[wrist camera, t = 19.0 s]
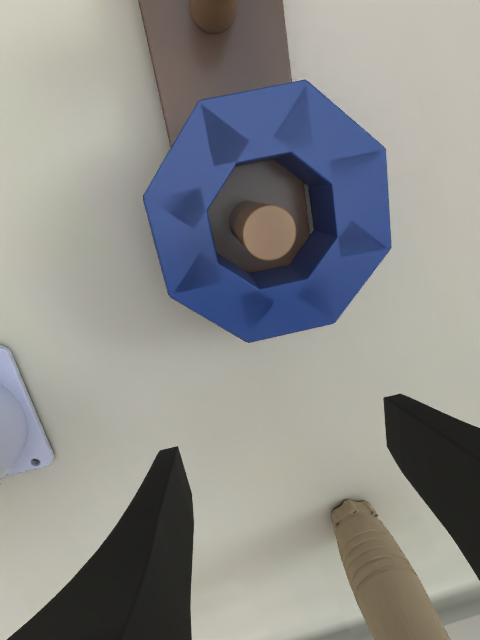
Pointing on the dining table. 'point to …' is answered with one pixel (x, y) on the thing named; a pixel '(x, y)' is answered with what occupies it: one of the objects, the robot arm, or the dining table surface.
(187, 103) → the rack
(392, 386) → the dining table surface
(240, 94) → the ring
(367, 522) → the handle
